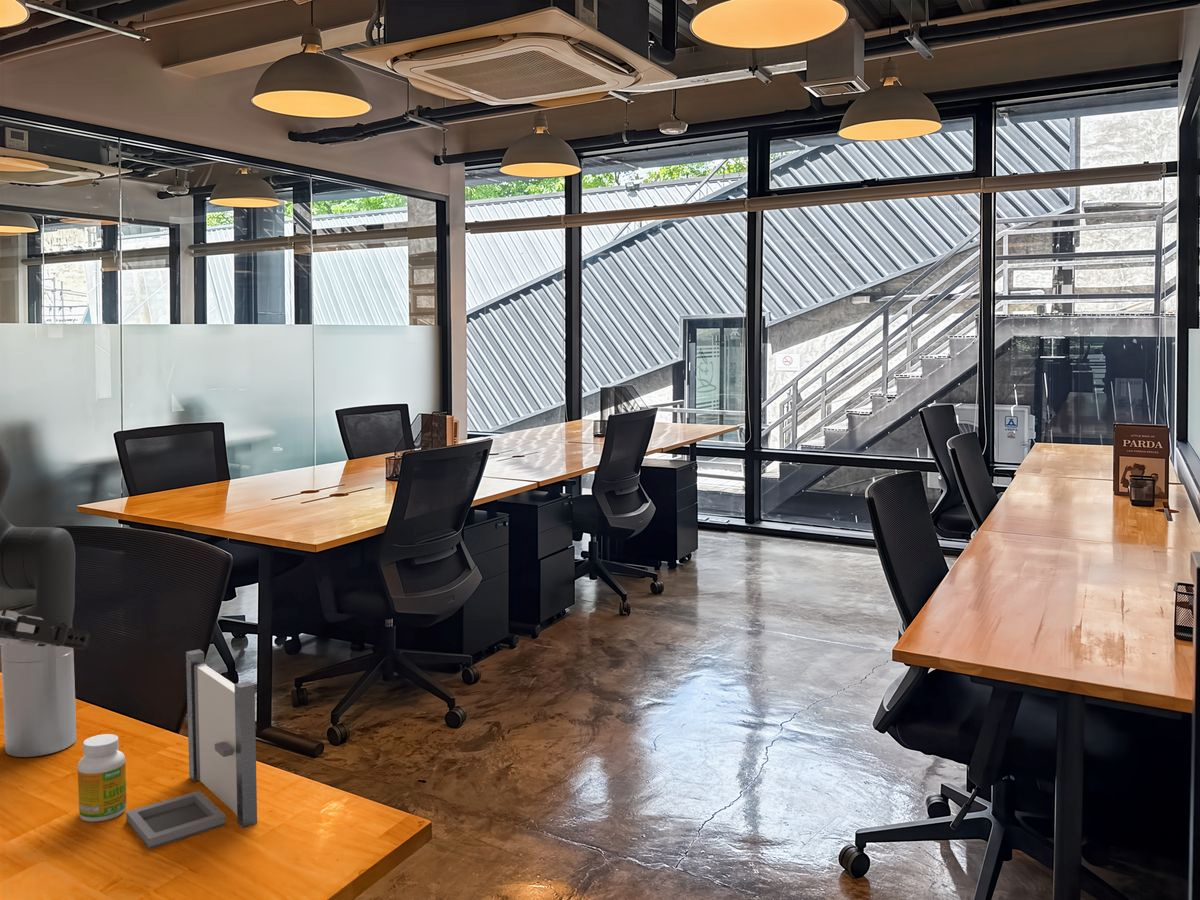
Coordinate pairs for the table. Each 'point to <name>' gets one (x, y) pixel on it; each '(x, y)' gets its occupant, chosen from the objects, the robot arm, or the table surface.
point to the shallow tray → (175, 819)
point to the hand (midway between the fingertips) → (66, 639)
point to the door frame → (243, 740)
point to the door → (216, 734)
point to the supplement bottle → (101, 779)
